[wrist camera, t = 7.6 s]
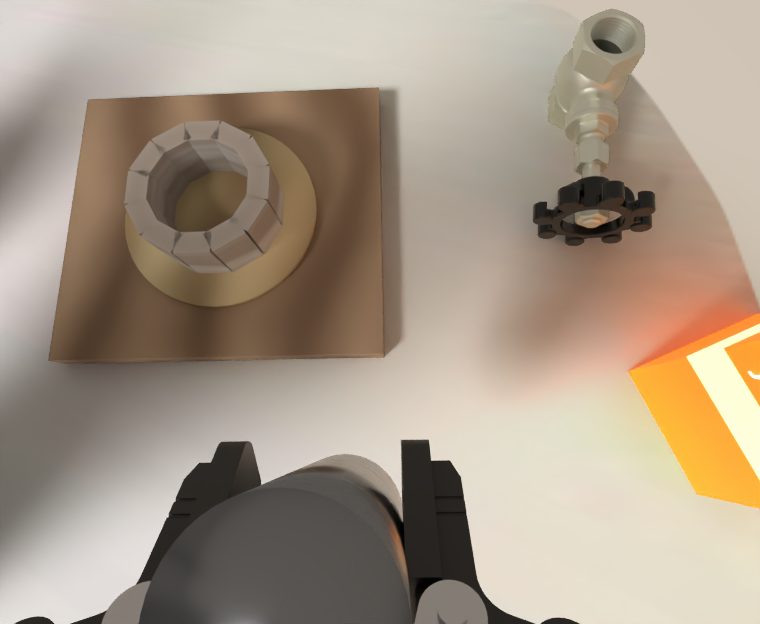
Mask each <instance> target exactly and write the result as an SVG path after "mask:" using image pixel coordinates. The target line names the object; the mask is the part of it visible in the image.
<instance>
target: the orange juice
mask: <svg viewBox="0 0 760 624" xmlns="http://www.w3.org/2000/svg"><path fill="white" fill-rule="evenodd" d="M628 372H629V374H630V376H631V377H632V379H633V381H634V383H635V384H636V386H637V388H638V390H639V392H640V393H641V395H642V397H643V399H644V401H645V402H646V404H647V406H648V408H649V410H650V411H651V413H652V415H653V417H654V419H655V420H656V422H657V424H658V426H659V427H660V429H661V431H662V433H663V435H664V436H665V438H666V440H667V442H668V444H669V445H670V447H671V449H672V451H673V453H674V454H675V456H676V458H677V460H678V461H679V463H680V465H681V467H682V469H683V470H684V472H685V474H686V476H687V478H688V479H689V481H690V483H691V485H692V487H693V488H694V490H695V492H696V494H698V495H703V496H707V497H712V498H716V499H720V500H725V501H729V502H734V503H738V504H742V505H747V506H751V507H756V508H760V313H759V314H756V315H754V316H751V317H749V318H747V319H745V320H742V321H740V322H738V323H736V324H733V325H731V326H729V327H727V328H724V329H722V330H720V331H718V332H715V333H713V334H711V335H709V336H706V337H704V338H702V339H700V340H697V341H695V342H693V343H691V344H688V345H686V346H684V347H682V348H679V349H677V350H675V351H673V352H670V353H668V354H666V355H664V356H661V357H659V358H657V359H655V360H652V361H650V362H648V363H646V364H643V365H641V366H639V367H637V368H635V369H632V370H630V371H628Z"/></svg>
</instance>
